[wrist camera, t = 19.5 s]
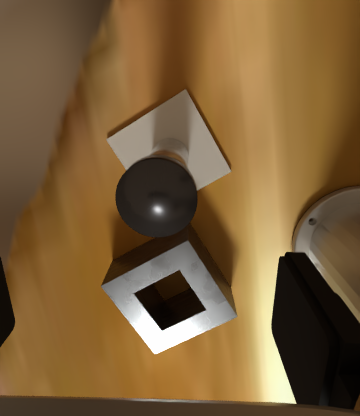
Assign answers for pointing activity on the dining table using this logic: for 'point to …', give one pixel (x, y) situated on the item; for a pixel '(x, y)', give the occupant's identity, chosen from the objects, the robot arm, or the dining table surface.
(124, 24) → the dining table surface
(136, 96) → the dining table surface
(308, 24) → the dining table surface
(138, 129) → the pad
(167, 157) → the steel peg
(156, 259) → the chuck block
